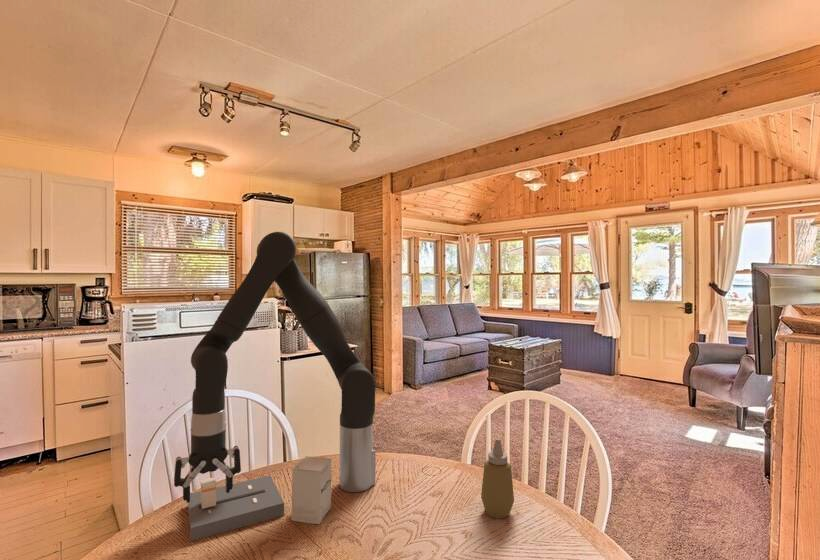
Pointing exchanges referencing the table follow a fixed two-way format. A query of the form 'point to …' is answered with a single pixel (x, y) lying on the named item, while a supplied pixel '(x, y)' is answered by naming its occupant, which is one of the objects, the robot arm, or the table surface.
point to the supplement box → (311, 489)
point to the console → (235, 507)
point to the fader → (208, 493)
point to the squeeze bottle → (497, 483)
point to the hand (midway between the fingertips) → (208, 496)
